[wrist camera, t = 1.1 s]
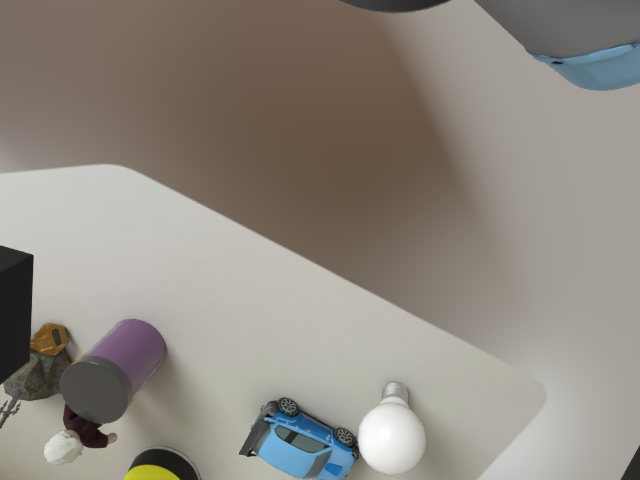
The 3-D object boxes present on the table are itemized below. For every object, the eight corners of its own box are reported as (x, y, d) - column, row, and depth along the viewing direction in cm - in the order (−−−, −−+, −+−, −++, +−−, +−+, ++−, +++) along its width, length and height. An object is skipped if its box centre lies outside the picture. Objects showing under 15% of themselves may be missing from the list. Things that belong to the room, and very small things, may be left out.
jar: (108, 311, 62) (58, 354, 53) (169, 324, 61) (128, 371, 53) (108, 364, 64) (60, 414, 56) (166, 378, 64) (126, 431, 55)
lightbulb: (374, 418, 61) (365, 495, 50) (358, 369, 59) (345, 438, 49) (432, 409, 59) (434, 487, 49) (417, 359, 57) (415, 428, 47)
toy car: (343, 471, 64) (336, 510, 59) (251, 424, 64) (235, 458, 59) (366, 436, 62) (361, 473, 56) (271, 387, 62) (257, 420, 56)
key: (-11, 341, 62) (-12, 341, 62) (62, 318, 64) (61, 318, 63) (-3, 373, 62) (-4, 373, 61) (71, 350, 63) (70, 350, 63)
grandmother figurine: (86, 369, 65) (13, 441, 54) (106, 352, 64) (35, 423, 52) (132, 414, 66) (70, 494, 55) (152, 399, 65) (93, 478, 53)
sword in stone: (-1, 380, 68) (-83, 447, 57) (-3, 326, 65) (-91, 385, 54) (74, 401, 67) (5, 473, 56) (75, 347, 64) (2, 411, 53)
